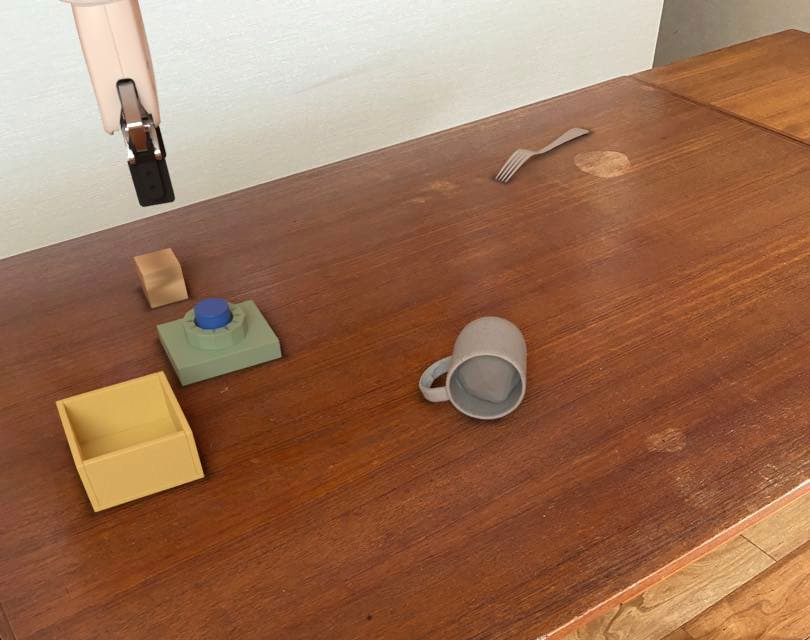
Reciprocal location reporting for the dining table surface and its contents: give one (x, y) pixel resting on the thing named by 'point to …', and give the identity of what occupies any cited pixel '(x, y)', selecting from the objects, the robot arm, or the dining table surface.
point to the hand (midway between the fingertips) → (154, 180)
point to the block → (161, 277)
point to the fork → (527, 153)
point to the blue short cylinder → (212, 313)
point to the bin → (129, 440)
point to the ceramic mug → (482, 370)
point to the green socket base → (218, 344)
